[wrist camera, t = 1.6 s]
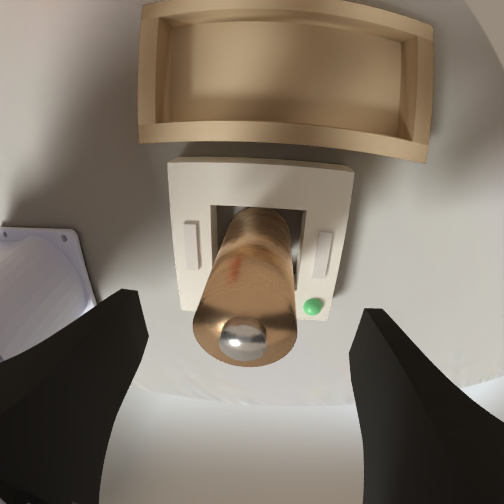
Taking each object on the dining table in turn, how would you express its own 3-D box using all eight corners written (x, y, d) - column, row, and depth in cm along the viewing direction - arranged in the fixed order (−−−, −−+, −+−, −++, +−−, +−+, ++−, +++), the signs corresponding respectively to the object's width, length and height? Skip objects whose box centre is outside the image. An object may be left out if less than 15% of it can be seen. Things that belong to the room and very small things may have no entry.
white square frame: (188, 293, 17) (178, 315, 15) (178, 156, 13) (163, 165, 11) (323, 303, 16) (327, 326, 15) (346, 165, 13) (357, 174, 11)
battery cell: (227, 261, 16) (194, 372, 9) (227, 205, 14) (182, 297, 7) (287, 265, 15) (290, 381, 9) (292, 208, 14) (305, 307, 7)
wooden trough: (158, 137, 13) (138, 143, 11) (161, 17, 10) (142, 5, 8) (405, 154, 12) (425, 163, 10) (412, 35, 9) (432, 26, 7)
